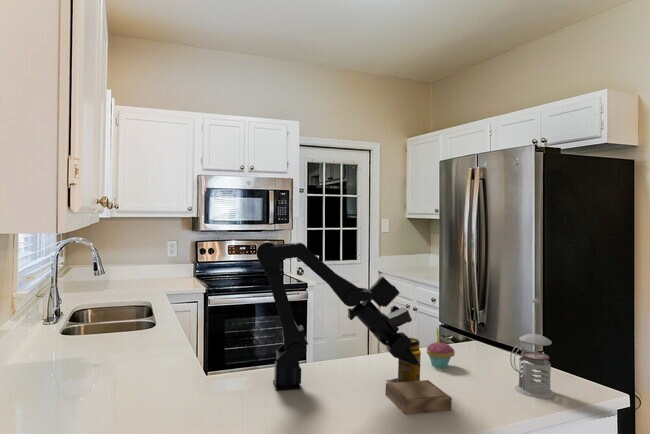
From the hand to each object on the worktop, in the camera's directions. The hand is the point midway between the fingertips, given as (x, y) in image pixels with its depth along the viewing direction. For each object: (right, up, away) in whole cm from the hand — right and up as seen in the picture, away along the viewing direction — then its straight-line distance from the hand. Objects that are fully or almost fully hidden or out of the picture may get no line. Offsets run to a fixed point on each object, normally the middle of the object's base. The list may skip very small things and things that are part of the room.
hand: (411, 358), depth 126 cm
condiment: (-1, -7, 0) cm, 7 cm away
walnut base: (-1, -7, -14) cm, 15 cm away
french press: (+32, -8, -4) cm, 33 cm away
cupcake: (+12, -7, +16) cm, 21 cm away
